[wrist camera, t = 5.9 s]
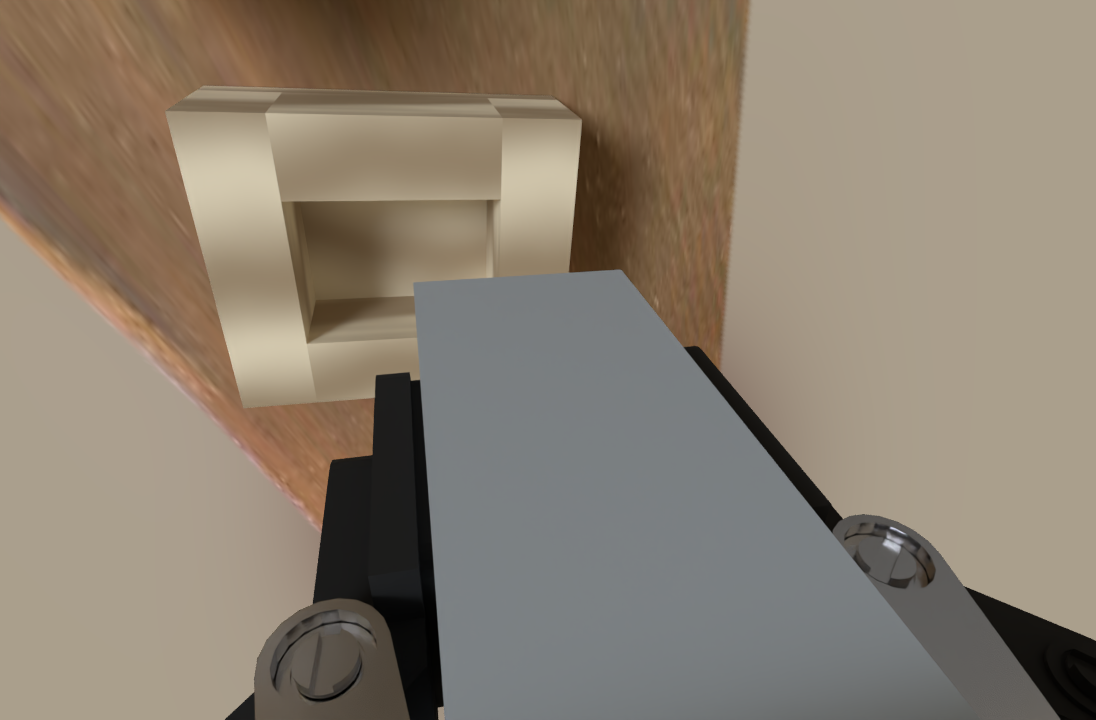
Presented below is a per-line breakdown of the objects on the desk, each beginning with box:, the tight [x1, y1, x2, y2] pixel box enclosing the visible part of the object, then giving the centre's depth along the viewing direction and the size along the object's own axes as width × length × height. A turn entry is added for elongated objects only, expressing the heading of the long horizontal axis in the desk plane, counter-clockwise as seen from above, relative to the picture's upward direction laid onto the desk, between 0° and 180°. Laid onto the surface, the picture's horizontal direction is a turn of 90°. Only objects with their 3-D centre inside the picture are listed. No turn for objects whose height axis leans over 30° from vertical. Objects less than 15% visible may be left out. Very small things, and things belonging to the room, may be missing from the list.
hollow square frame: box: [165, 86, 582, 408], centre depth 26 cm, size 12×14×5 cm
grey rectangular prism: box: [413, 270, 981, 720], centre depth 8 cm, size 4×4×10 cm
